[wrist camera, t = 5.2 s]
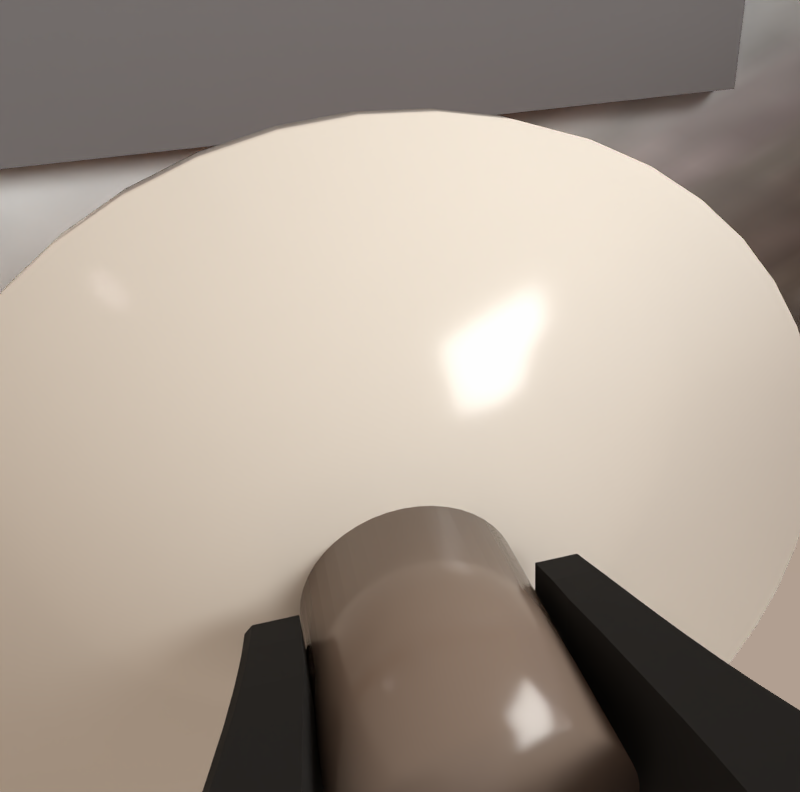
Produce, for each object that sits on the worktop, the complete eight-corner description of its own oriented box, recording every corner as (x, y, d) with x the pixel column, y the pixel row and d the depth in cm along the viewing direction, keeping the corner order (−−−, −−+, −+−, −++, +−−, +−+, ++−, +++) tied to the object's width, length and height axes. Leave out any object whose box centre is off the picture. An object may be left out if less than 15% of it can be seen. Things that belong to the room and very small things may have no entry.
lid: (873, 51, 9) (1338, 60, 5) (727, 738, 15) (890, 964, 11) (-332, 189, 6) (-1010, 372, 3) (82, 921, 13) (27, 1268, 9)
